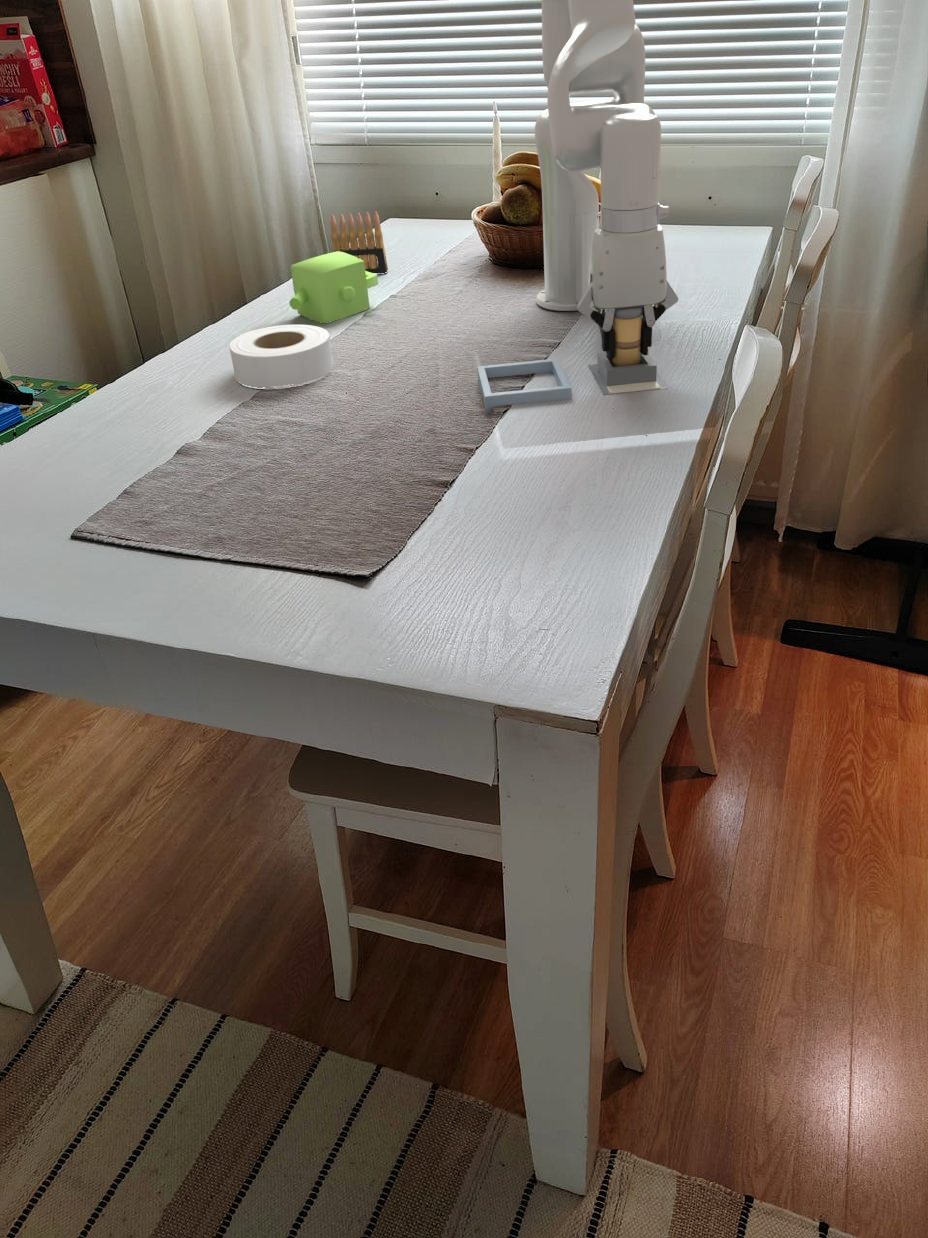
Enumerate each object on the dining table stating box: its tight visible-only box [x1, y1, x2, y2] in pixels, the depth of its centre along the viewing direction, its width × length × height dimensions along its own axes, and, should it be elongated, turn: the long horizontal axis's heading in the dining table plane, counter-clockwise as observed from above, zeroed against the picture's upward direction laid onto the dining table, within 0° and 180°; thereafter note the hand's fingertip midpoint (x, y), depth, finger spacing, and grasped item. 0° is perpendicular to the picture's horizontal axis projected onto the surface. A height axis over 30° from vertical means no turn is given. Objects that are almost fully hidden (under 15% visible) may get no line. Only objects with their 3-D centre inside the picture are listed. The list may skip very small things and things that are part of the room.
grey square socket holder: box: [587, 352, 668, 396], centre depth 141 cm, size 12×9×4 cm
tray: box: [476, 357, 572, 414], centre depth 141 cm, size 12×12×2 cm
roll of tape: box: [229, 324, 334, 388], centre depth 156 cm, size 16×16×6 cm
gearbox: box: [289, 251, 379, 324], centre depth 178 cm, size 18×10×10 cm, turn 131°
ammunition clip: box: [330, 210, 389, 273], centre depth 199 cm, size 11×2×12 cm, turn 85°
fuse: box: [612, 306, 643, 367], centre depth 139 cm, size 4×4×10 cm
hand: (626, 352), depth 140 cm, fingers closed on fuse, 4 cm apart
